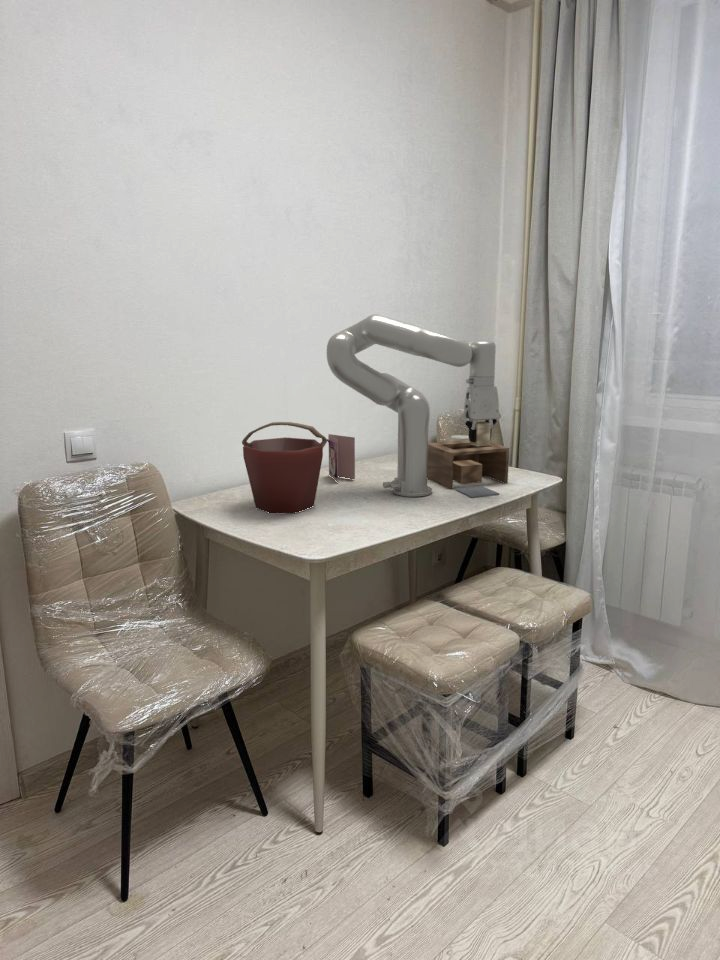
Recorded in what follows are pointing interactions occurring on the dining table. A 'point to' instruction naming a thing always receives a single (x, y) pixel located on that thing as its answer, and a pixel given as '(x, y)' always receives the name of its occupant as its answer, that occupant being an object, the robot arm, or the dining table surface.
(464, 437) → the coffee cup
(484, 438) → the birch block
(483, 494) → the slate mat
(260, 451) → the bucket
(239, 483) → the dining table surface
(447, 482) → the slot box
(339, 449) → the greeting card
